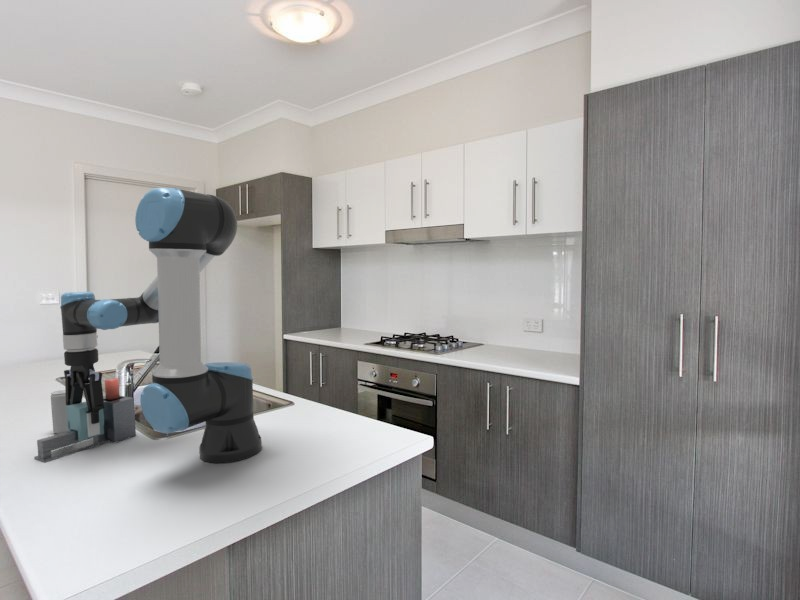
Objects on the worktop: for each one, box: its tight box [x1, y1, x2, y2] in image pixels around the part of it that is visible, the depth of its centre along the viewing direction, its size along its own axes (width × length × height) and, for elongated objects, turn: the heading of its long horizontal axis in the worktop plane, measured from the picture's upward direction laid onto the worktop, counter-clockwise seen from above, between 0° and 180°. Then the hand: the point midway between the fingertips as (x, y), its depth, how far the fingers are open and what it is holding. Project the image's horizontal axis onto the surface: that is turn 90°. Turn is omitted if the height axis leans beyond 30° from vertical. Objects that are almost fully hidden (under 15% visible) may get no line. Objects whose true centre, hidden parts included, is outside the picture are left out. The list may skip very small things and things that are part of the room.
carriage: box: [66, 401, 104, 442], centre depth 125 cm, size 6×6×9 cm
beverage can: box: [50, 389, 69, 435], centre depth 137 cm, size 5×5×12 cm
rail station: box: [33, 395, 137, 463], centre depth 125 cm, size 10×22×11 cm, turn 153°
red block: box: [104, 377, 121, 399], centre depth 131 cm, size 3×3×5 cm
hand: (86, 433), depth 125 cm, fingers closed on carriage, 6 cm apart
